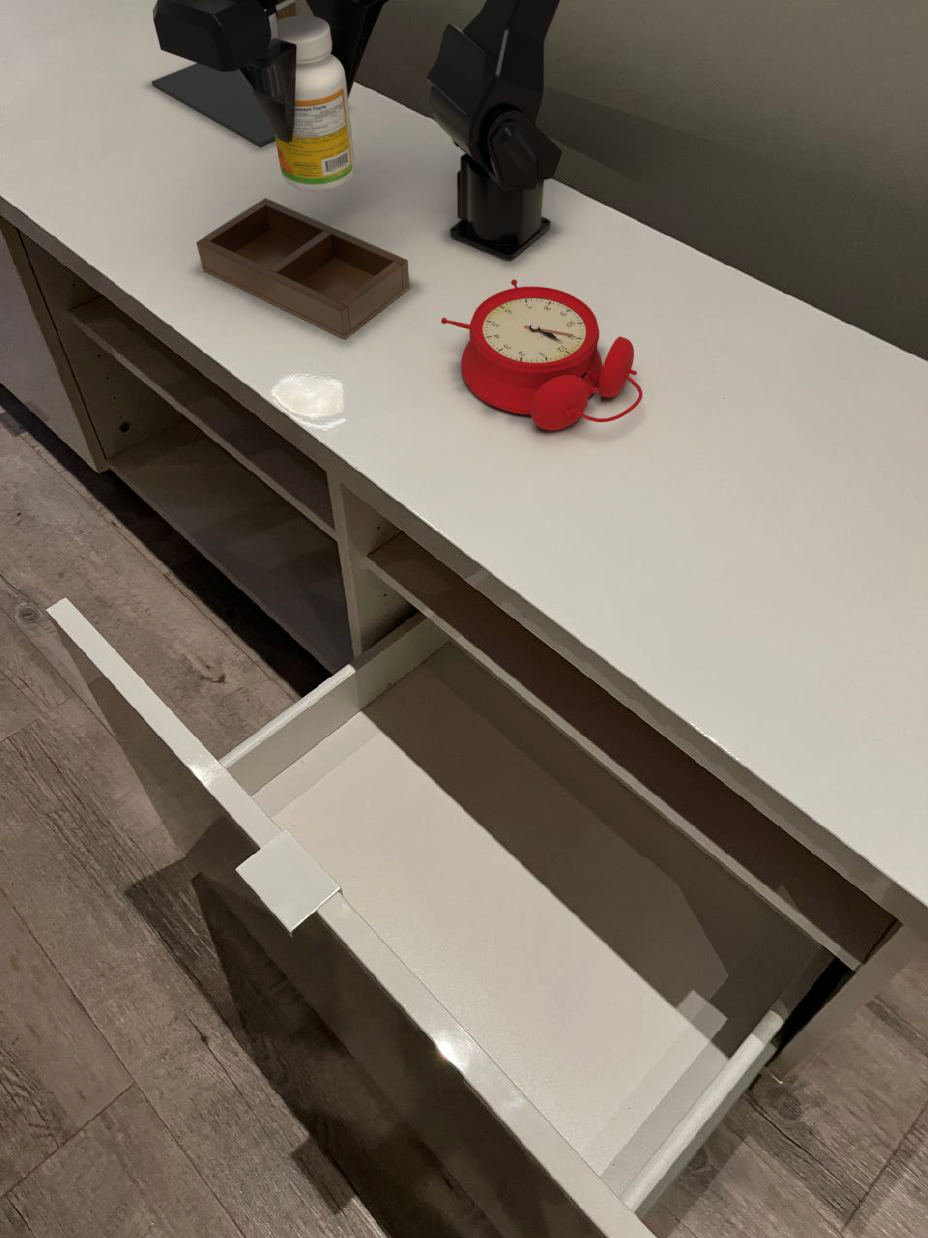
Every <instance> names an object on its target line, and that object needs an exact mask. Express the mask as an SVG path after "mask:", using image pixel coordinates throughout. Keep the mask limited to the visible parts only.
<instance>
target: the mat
mask: <svg viewBox="0 0 928 1238" xmlns="http://www.w3.org/2000/svg"><path fill="white" fill-rule="evenodd" d="M151 85H152V86H153V87H155V88H156V89H158V90H160V91H162V92H164V93H165V94H167V95H169V96H171V97H172V98H173V99H176V100H177V101H179V102H181V103H182V104H184V105H186V106H188V107H190V108H191V109H193V110H194V111H196V112H198V113H200V114H201V115H203V116H205V117H207V118H208V119H210V120H211V121H214V122H216V123H218V124H219V125H221V126H223V127H225V128H226V129H228V130H230V131H232V132H233V133H235V134H236V135H239V136H240V137H242V138H244V139H246V140H247V141H249V142H251V143H253V144H254V145H256V146H257V147H260V148H261V147H263V146H266V145H267V144H271V143H272V142H274V141H276V139H275V134H274V132H273V130H272V128H271V126H270V124H269V122H268V120H267V119H266V117H265V115H264V113H263V111H262V109H261V108H260V106H259V104H258V102H257V100H256V98H255V96H254V95H253V93H252V91H251V89H250V87H249V86H248V84H247V82H246V81H245V79H244V78H243V76H242V75H241V73H240V72H239V70H236V71H229V72H220V71H217V70H215V69H212V68H209V67H206V66H204V65H201V64H198V63H194V64H192V65H189V66H187V67H184V68H181V69H179V70H177V71H174V72H172V73H169V74H167V75H164V76H162V77H159V78H156V79H155V80H152V81H151Z"/></svg>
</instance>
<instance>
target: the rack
mask: <svg viewBox="0 0 928 1238" xmlns="http://www.w3.org/2000/svg"><path fill="white" fill-rule="evenodd" d="M195 243H196V247H197V251H198V255H199V258H200V259H199V260H200V262H201V266H202V267H201V268H202V271H203V272H205V273H207V274H209V275H210V276H211V275H212V276H213V277H216V278H217V279H220V280H222V281H224V282H226V283H228V284H230V285H232V286H234V287H236V288H238V289H240V290H242V291H244V292H246V293H248V294H250V295H252V296H254V297H256V298H258V299H260V300H262V301H265V302H266V303H269V304H271V305H273V306H275V307H277V308H279V309H281V310H283V311H285V312H287V313H289V314H291V315H293V316H295V317H297V318H299V319H301V320H304V321H305V322H308V323H309V324H312V325H314V326H316V327H318V328H320V329H322V330H324V331H325V332H328V333H330V334H332V335H334V336H336V337H338V338H340V339H342V340H346V339H348V338H349V337H350V336H351V335H352V334H354V333H355V332H356V331H358V330H359V329H360V328H361V327H362V326H364V325H366V324H367V323H368V322H369V321H370V320H371V319H373V318H374V317H375V316H377V315H378V314H379V313H380V312H382V311H384V310H385V308H387V307H389V305H391V304H392V303H393V302H395V301H396V300H397V299H398V298H400V297H401V296H402V295H403V294H405V293H406V292H407V291H409V290H410V273H409V260H408V259H406V258H404V257H402V256H399V255H397V254H395V253H392V252H390V251H388V250H386V249H383V248H381V247H379V246H377V245H374V244H372V243H370V242H367V241H365V240H363V239H361V238H358V237H356V236H354V235H351V234H349V233H347V232H344V231H342V230H340V229H337V228H335V227H333V226H330V225H329V224H327V223H324V222H321V221H319V220H317V219H315V218H312V217H310V216H308V215H305V214H303V213H301V212H298V211H296V210H294V209H292V208H289V207H287V206H285V205H283V204H281V203H279V202H275V201H273V200H271V199H269V198H266V197H265V198H263V199H261V200H260V201H259V202H257V203H255V204H253V205H252V206H250V207H248V208H247V209H246V210H244V211H242V212H240V213H239V214H238V215H236V216H235V217H233V218H232V219H229V220H228V221H227V222H225V223H224V224H222V225H220V226H219V227H217V228H215V229H214V230H212V231H211V232H210V233H208V234H206V235H205V236H203V238H201V239H198V240H197V241H196V242H195Z"/></svg>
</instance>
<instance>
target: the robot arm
mask: <svg viewBox="0 0 928 1238" xmlns="http://www.w3.org/2000/svg"><path fill="white" fill-rule="evenodd" d="M304 1H305V3H306V5H307V6H308V8H309V10H310V12H311V14H312V16H315V17H318V18H321V19H323V20H325V21H326V22H327V23H328V24H329V27H330V33H331V40H332V51H331V53H330V54H331V55H333V56H335V57H336V58H337V59H338V60H339V61H340V62H341V64H342V66H343V68H344V71H345V78H346V86H347V95H348V99H349V97H350V95H351V92H352V90H353V85H354V83H355V80H356V77H357V74H358V71H359V68H360V65H361V64H362V63H361V62H362V59H363V57H364V54H365V52H366V48H367V46H368V44H369V42H370V39H371V36H372V34H373V31H374V29H375V27H376V23H377V22H378V19H379V17H380V14H381V11H382V9H383V7H384V5H385V4H386V3H388V2H389V1H390V0H304ZM298 2H300V0H156V2H155V4H154V6H153V9H152V20H153V25H154V29H155V33H156V36H157V41H158V44H159V45H158V46H159V48H160V51H162V52H166V53H169V54H171V55H174V56H177V57H179V58H182V59H184V60H188V61H190V62H192V63H194V64H196V63H198V64H201V65H204V66H206V67H209V68H212V69H215V70H217V71H220V72H229V71H236V70H239V72H240V73H241V75H242V76H243V78H244V79H245V81H246V82H247V84H248V86H249V87H250V89H251V91H252V93H253V95H254V96H255V98H256V100H257V102H258V104H259V106H260V108H261V109H262V111H263V113H264V115H265V117H266V119H267V120H268V122H269V124H270V126H271V128H272V130H273V132H274V133H275V135H276V137H277V138H278V139H279V140H281V141H283V142H286V143H289V142H290V141H292V137H293V129H294V120H295V87H296V57H297V45H296V44H294V43H291V42H288V41H285V40H282V39H280V36H279V29H278V23H277V21H278V17H279V13H278V12H279V11H282V10H283V9H285V8H288V7H289V6H291V5H293V4H295V3H298ZM560 3H561V0H485V1H484V4H483V7H482V8H481V10H480V11H479V13H477V14H476V15H475V17H474V18H473V19H472V20H471V21H470V22H469V23H468V24H466V26H465V27H463V29H460V28H459V27H458V26H456V25H454V24H452V23H447V24H446V26H445V28H444V30H443V32H442V34H441V39H440V46H439V51H438V54H437V57H436V58H435V61H434V64H433V66H432V67H431V69H430V71H428V73H427V74H426V77H425V78H426V81H428V82H429V83H430V84H431V85H430V91H429V96H428V103H429V104H428V106H429V108H430V110H431V113H432V116H433V119H434V122H435V123H436V124H437V125H438V126H439V128H440V129H442V130H443V132H445V133H446V134H447V135H448V136H449V137H450V139H451V141H452V143H453V145H454V146H455V147H456V148H459V149H460V150H461V151H462V152H463V154H462V155H461V156H460V162H459V164H460V165H459V167H460V169H459V170H458V171H457V172H456V213H457V214H456V216H457V219H459V221H457V223H455V224H454V225H453V226H451V227H450V228H449V236H450V237H452V239H455V240H458V241H461V242H463V243H466V244H468V245H469V246H473V247H475V248H478V249H480V250H483V251H485V252H487V253H490V254H491V255H494V256H497V257H499V258H502V259H504V260H507V261H508V260H513V259H514V258H516V257H517V256H518V255H519V254H520V253H521V252H523V251H524V250H526V248H528V246H530V245H531V244H533V243H534V242H535V241H536V240H538V239H539V238H540V237H542V235H543V234H544V233H545V232H547V231H548V230H549V229H551V223H552V222H551V221H552V220H550V219H548V218H547V217H543V216H542V214H543V213H542V212H543V211H542V210H543V199H544V186H545V185H544V184H545V181H548V180H551V179H553V178H554V176H555V173H556V171H557V169H558V167H559V163H560V160H561V158H562V155H563V152H562V149H561V148H560V147H559V146H558V145H557V144H555V143H554V141H552V140H551V139H550V137H548V136H547V135H546V134H545V133H544V132H543V131H542V130H541V129H540V128H539V127H538V126H537V120H538V117H539V112H540V109H541V106H542V102H543V98H544V93H545V43H546V39H547V35H548V33H549V30H550V27H551V25H552V22H553V20H554V18H555V15H556V12H557V10H558V7H559V5H560Z"/></svg>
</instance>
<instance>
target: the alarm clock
mask: <svg viewBox="0 0 928 1238" xmlns="http://www.w3.org/2000/svg"><path fill="white" fill-rule="evenodd" d="M510 284H511V285H512V286H513V288H509V289H505V290H501V291H499V292H496V293H495V294H493V295H490V296H489V297H487V298H486V299H485V300H483V301H481V303H480V304H479V305H478V306H477V308H476V309H475V310H474V312H473V315H472V317H471V319H470V323H469V324H468V323H464V322H460V321H453V320H448V319H447V317H442V318H441V321H440V323H441V324H442V325H446V324H449V325H452V326H456V327H458V328H462V329H467V330H468V331H469V341H468V342H467V344H466V345H465V347H464V349H463V352H462V355H461V361H460V364H461V365H460V370H461V375H462V378H463V380H464V383H465V385H466V386H467V387H468V389H469V390H470V391H471V392H472V393H473V394H474V395H475V396H476V397H477V398H478V399H480V400H481V401H483V402H485V403H486V404H487V405H489V406H492V407H495V408H497V409H499V410H502V411H506V412H510V413H513V414H520V415H530V417H531V419H532V420H533V422H534V424H535V425H536V426H538V427H539V429H542V430H545V431H551V432H552V431H559V430H563V429H565V428H568V427H569V426H572V425H573V424H575V423H576V422H577V421H578V420H579V419H580V418H582V419H584V420H587V421H590V422H594V423H608V422H612V421H615V420H618V419H620V418H622V417H625V416H626V415H627V414H629V413H631V412H632V411H633V410H634V409H635V408H636V407H638V405H639V404H640V402H642V399H643V390H642V387H641V386H640V384H638V383H637V382H636V381H635V380H634V379H632V378H631V376H632V375H633V376H636V375H637V373H638V371H636V370H633V369H632V368H633V365H634V359H635V348H634V345H633V343H632V342H631V339H628V338H626V337H624V336H620V335H619V336H618V337H616V339H615V340H614V341H613V343H612V345H611V346H610V348H609V350H608V352H607V354H606V356H605V359H604V361H603V359H602V356H601V353H600V351H599V349H598V345H599V340H600V327H599V322H598V319H597V317H596V315H595V313H594V311H593V310H592V308H590V307H589V306H588V304H587V303H585V302H584V301H582V300H581V299H580V298H578V297H576V296H575V295H572V294H570V293H568V292H566V291H563V290H559V289H555V288H551V287H545V286H518V280H517V279H515V278H514V279H512V280H511V282H510ZM630 375H631V376H630ZM627 381H628V382H630V384H632V385H633V386H634V388H635V389H636V390H637V392H638V397H637V399H636V401H635V402H634V403H633V404H632V405H631V406H629V407H628V408H627V409H625V410H624V411H622V412H620V413H618V414H616V415H612V416H609V417H601V418H599V417H594V416H590V415H587V414H585V413H584V412H585V411H586V408H587V406H588V401H589V398H590V396H592V395H594V394H595V393H596V392H597V393H598V394H597V395H598V396H600V397H603V398H613V397H615V396H617V395H618V394H619V393H621V391H622V389H623V388H624V386H625V385H626V383H627Z"/></svg>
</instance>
